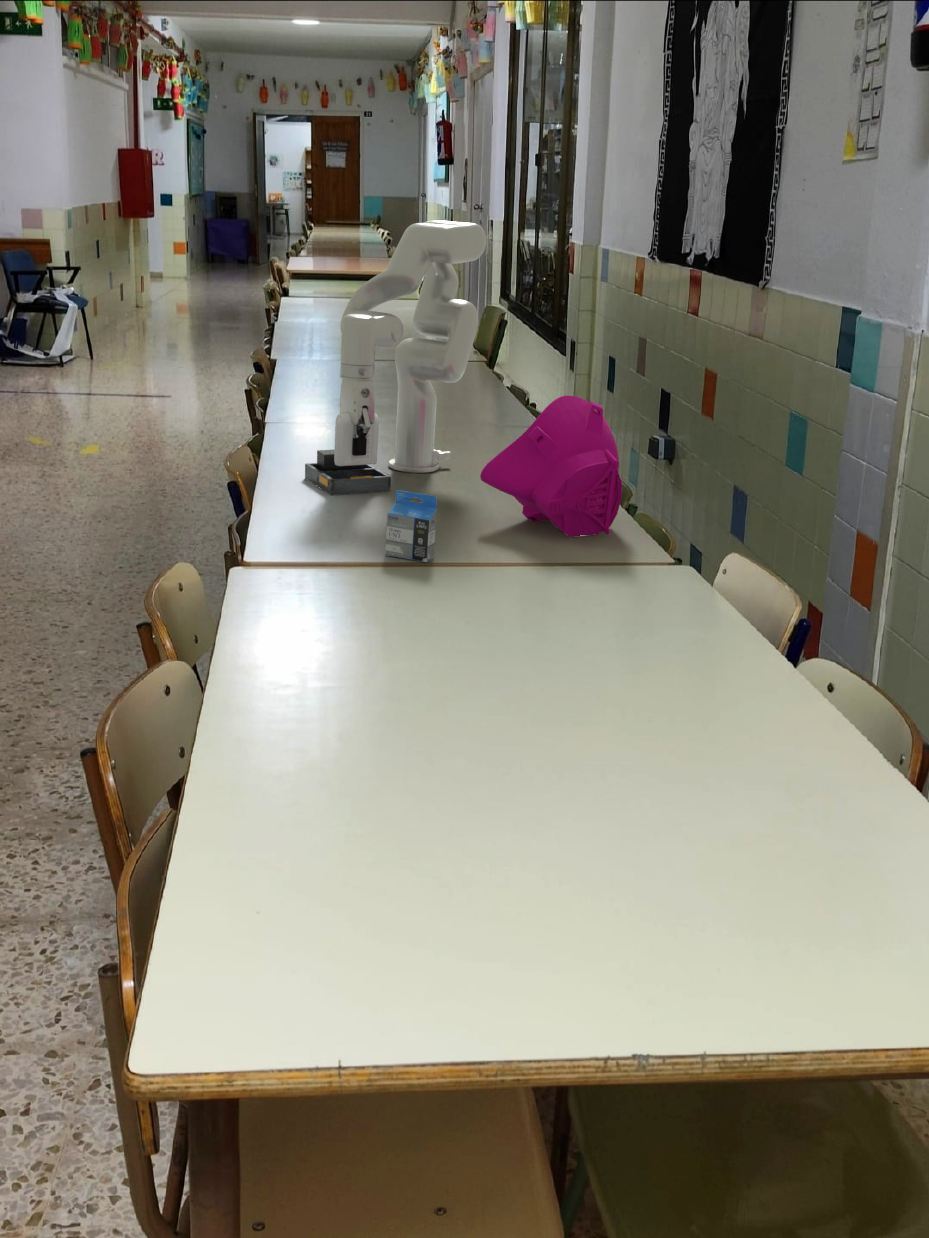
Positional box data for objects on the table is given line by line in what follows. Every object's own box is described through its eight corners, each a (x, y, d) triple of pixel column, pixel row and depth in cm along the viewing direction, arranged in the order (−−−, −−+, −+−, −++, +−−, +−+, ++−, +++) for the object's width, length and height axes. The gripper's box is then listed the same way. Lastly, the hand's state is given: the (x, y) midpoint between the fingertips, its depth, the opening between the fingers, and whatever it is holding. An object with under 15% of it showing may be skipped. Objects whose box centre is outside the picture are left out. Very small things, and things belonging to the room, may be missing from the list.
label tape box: (384, 556, 230) (386, 493, 226) (393, 550, 234) (395, 489, 229) (426, 563, 227) (430, 500, 223) (434, 558, 231) (438, 495, 227)
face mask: (638, 550, 257) (509, 577, 248) (592, 495, 274) (469, 518, 264) (656, 437, 240) (518, 461, 231) (605, 386, 256) (474, 406, 247)
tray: (362, 474, 290) (363, 446, 288) (390, 491, 277) (391, 461, 274) (304, 478, 283) (304, 449, 281) (330, 495, 270) (331, 465, 267)
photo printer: (370, 460, 279) (372, 407, 275) (379, 465, 276) (382, 411, 272) (331, 463, 274) (332, 409, 270) (339, 467, 270) (341, 413, 266)
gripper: (388, 377, 262) (384, 460, 268) (357, 365, 276) (355, 444, 282) (356, 378, 259) (353, 461, 265) (327, 366, 273) (325, 445, 279)
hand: (354, 451), depth 274 cm, fingers closed on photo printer, 4 cm apart
